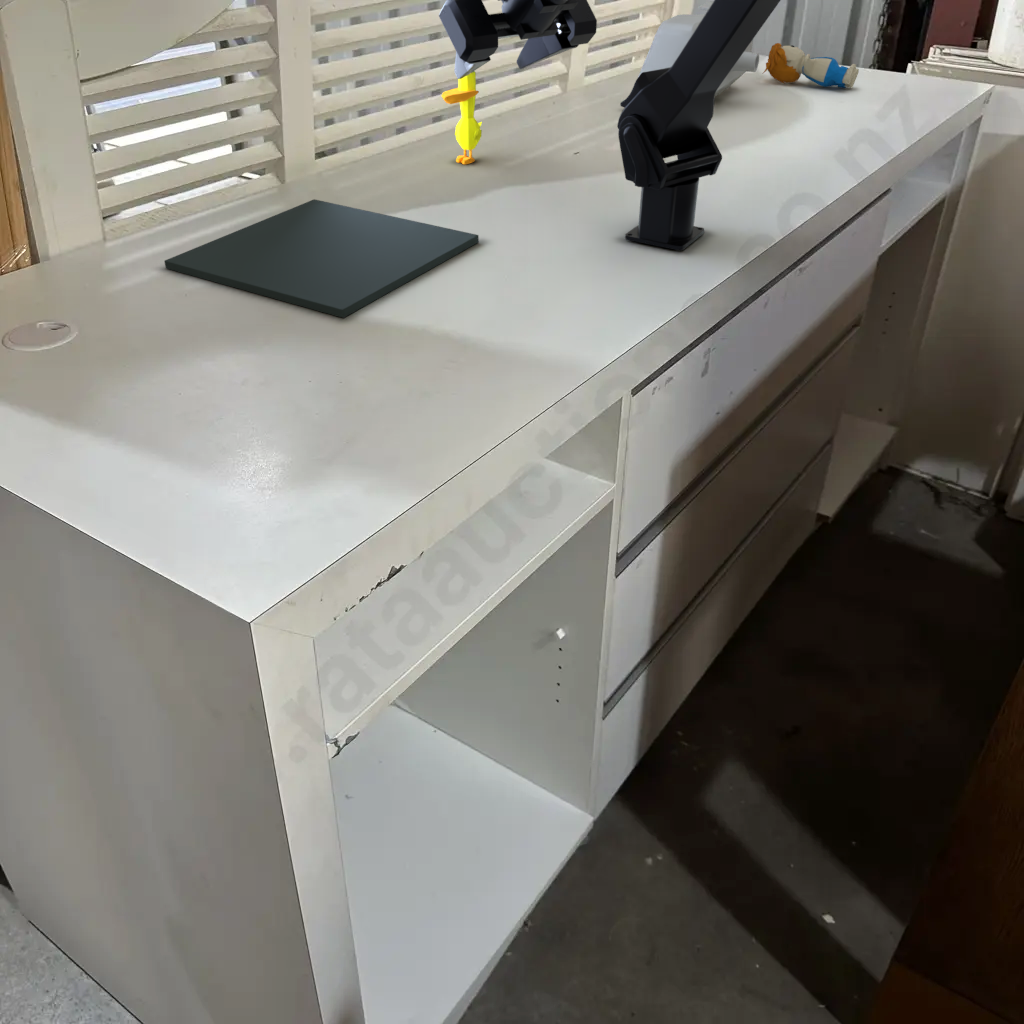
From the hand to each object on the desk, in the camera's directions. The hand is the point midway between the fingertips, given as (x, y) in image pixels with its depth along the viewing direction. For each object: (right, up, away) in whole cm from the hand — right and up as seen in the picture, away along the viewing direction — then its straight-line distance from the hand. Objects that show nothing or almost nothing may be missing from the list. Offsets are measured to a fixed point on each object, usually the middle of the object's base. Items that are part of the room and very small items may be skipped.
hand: (488, 70), depth 112 cm
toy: (+52, +19, +48) cm, 73 cm away
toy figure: (-3, -7, +10) cm, 13 cm away
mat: (-16, -26, -16) cm, 35 cm away
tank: (+33, +13, +38) cm, 52 cm away
